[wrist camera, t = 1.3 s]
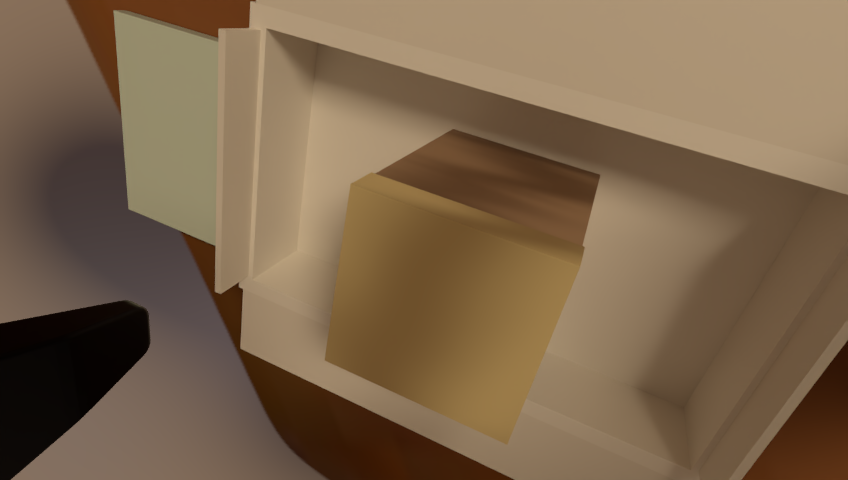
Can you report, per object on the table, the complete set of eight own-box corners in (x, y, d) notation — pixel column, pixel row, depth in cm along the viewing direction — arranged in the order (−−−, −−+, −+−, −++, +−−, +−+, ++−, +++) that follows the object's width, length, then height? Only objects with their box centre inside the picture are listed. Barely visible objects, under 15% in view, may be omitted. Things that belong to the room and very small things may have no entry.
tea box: (602, 173, 16) (580, 266, 10) (550, 305, 18) (507, 444, 12) (452, 127, 17) (350, 184, 11) (421, 255, 19) (324, 360, 13)
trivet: (312, 66, 19) (303, 67, 18) (292, 269, 23) (284, 275, 22) (126, 10, 21) (113, 10, 20) (138, 205, 25) (128, 209, 25)
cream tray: (934, 33, 12) (1092, 39, 8) (657, 469, 20) (663, 593, 15) (325, -95, 16) (215, -136, 12) (286, 305, 24) (210, 367, 20)
